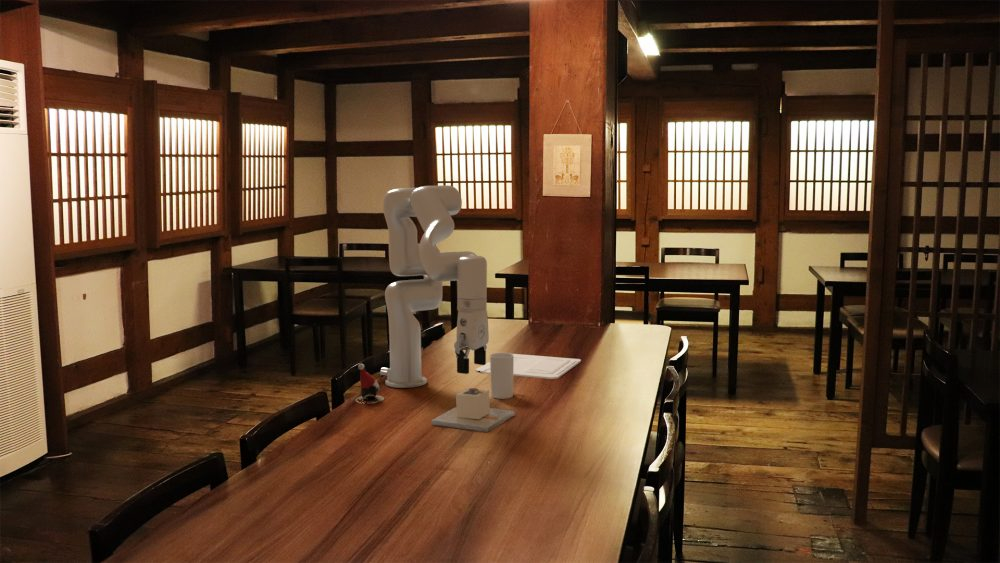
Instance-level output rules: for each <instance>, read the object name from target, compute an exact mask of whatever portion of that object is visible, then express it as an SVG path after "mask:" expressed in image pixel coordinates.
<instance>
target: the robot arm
mask: <svg viewBox="0 0 1000 563" xmlns="http://www.w3.org/2000/svg"><path fill="white" fill-rule="evenodd" d="M461 196H462V195H461V194H460V191H459V190H458V189H457V188H456V187H454V186H452V185H446V184H445V185H424V186H420V187H401V188H394V189H391V190H388V191H387V192H386V193H385V195H384V197H383V201H382V202H383V203H382V209H383V210H382V211H383V215H384V218H385V222H386V226H387V229H388V256H389V257H388V258H389V260H388V261H389V270H390V272H391V273H392V274H393V275H394V276H396V277H415V276H416V277H417V276H423V279H422V278H421V279H408V280H397V281H394V282H391V283H390V284H388V285H387V287H386V288H385V292H384V299H385V303H386V310H387V316H388V334H389V336H388V338H389V339H388V340H389V368H388V367H381V368H380V370H379V371H380V372H379V374H380V375H382V376H386V379H385V382H384V384H385V385H386V386H388V387H390V388H396V389H410V388H418V387H421V386H424V385H426V384H427V383H428V380H427V379H428V378H427V377H426V376H422V337H421V336H422V335H421V331H422V330H421V325H420V322H419V320H418V319H417V318H416V317H415V315H414V314H413V313H414V312H415V313H416V312H420V311H421V312H423V311H429V310H436V309H438V308H440V306H441V304H442V301H443V282H452V281H453V282H455V281H457V286H456V287H457V288H456V289H457V291H456V292H457V293H456V294H457V297H456V298H457V301H456V302H457V305H456V309H457V311H458V312H457V319H456V320H457V321H456V340H455V343H454V345H453V346H454V353H455V358H456V372H457V373H458V374H464V375H468V374H470V358H468V357H469V354H470V351H473V364H474V365H480V366H483V365H485V364H486V363H487V361H486V360H487V345H488V343H489V341H490V340H489V333H490V332H489V319H488V310H487V306H488V304H487V301H488V299H487V298H488V297H487V296H488V295H487V294H488V293H487V290H488V288H487V286H488V281H487V280H488V279H487V278H488V269H487V268H488V263H487V259H486V258H485V257H484V256H481V255H477V254H476V253H475V252H472V251H468V250H467V251H447V252H440V249H439V247H438V246H437V244H440V243H441V242H443V241H445V240H446V239H448V238H449V237H450V236H451V235H452V233H453V232H454V229H455V222H454V219H453V218H452V216H454V215H457V214H458V213H459V212H460V211H461V209H462V204H463V199H462V197H461ZM410 217H411V218H410ZM412 217H413V218H416V219H417V220H418V222H419V225H420V227H421V228H422V231H423V232H424V233H423V234H422V236H421V239H420V242H418V229H417V226H416V224H415V223H414V221H413V220H412Z"/></svg>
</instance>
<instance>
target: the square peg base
mask: <svg viewBox="0 0 1000 563" xmlns="http://www.w3.org/2000/svg"><path fill="white" fill-rule="evenodd" d="M468 389H469V394H470V395H477V394H479V390H480V389H478V388H476V387H471V388H468ZM513 416H515V410H510V409H501V408H493V407H490V413H489V414H487V415H485V416H484V417H482V418H480V419H470V418H460V417H457V409H456V406H455V407H453V408H451V409H449V410H447V411H445V412H444V413H441V415H438V416H436V417H435V418H433V419H431V425H432V426H439V427H447V428H455V429H459V430H460V429H461V430H468V431H474V432H483V433H489V432H491V431H493V429H495V428H497V427H498V426H500V425H501V424H503V423H504V422H506V421H507V420H509V419H510V418H512V417H513Z"/></svg>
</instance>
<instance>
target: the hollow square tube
mask: <svg viewBox="0 0 1000 563" xmlns="http://www.w3.org/2000/svg"><path fill="white" fill-rule="evenodd" d="M469 389H470V388H466V389H464V390H462V391H460V392H458V393H456V394H455V402H456V404H455V407H456V409H457V417H460V418H470V419H480V418H482V417H484V416H485V415H487V414H489V413H490V408H491V406H490V390H488V389H487V390H486V389H479V394H477V395H470V394H469Z"/></svg>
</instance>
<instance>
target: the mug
mask: <svg viewBox="0 0 1000 563" xmlns="http://www.w3.org/2000/svg"><path fill="white" fill-rule="evenodd" d="M513 354H514V353H510V352H495V353H491V354H490V355H489V358H490V359H489V362H490V371H491V374H490V390H491V391H490V395H491V397H492V398H494V399H497V400H500V399H502V400H505V399H510V398H513V396H514V376H513V365H514V355H513Z"/></svg>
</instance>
